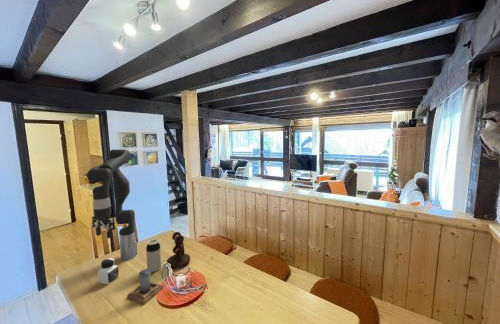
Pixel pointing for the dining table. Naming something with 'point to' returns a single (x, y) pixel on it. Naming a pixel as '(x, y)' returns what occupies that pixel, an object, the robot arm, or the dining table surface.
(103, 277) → the medicine bottle
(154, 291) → the walnut socket
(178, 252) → the scroll
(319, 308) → the dining table surface
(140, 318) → the dining table surface
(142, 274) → the blue-grey dome-topped cylinder
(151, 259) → the travel mug
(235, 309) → the dining table surface
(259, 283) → the dining table surface
